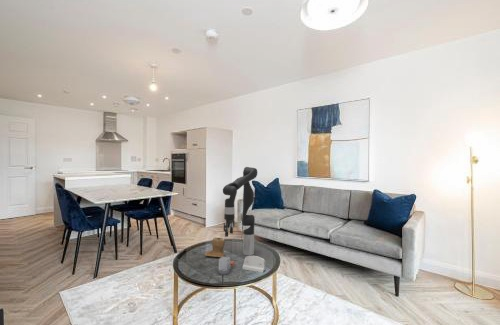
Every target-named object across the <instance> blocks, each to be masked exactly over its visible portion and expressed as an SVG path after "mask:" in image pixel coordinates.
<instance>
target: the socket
mask: <svg viewBox="0 0 500 325" xmlns="http://www.w3.org/2000/svg"><path fill="white" fill-rule="evenodd" d="M230 261H231V257H229V256H222V257H219V259H218V271H219V270H225V271H227V270H228V269H229V268H230Z"/></svg>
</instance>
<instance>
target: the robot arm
mask: <svg viewBox="0 0 500 325" xmlns="http://www.w3.org/2000/svg"><path fill="white" fill-rule="evenodd" d="M257 176H258V169H257V168H255V167H249V166H245V167H244V168H243V171H242V176H240V177H238V178H236V179H235V180H233V181H232V182H230V183H228V184H226V185H225V186H223V189H222V193H223V194H224V195H226V196H229V197H228V198H226V199H225V200H224V210H223V211H224V212H223V213H224V215H223V216H224V217H223V218H224V220H225V222H223V232H224V236H225V238H228V237H229V234H230V235H231V234H234V228H235V212H236V211H235V210H236V209H235V200H236V197H237V193H238V190H239V189H241V188H242V187H243V191H242V192H243V194H242V214H241V215H242V216H241V224H242V226H244V227H247V228H245V229H244V230H243V233H242V234H243V239H242V240H243V241H242V245H243V246H242V254H243V255H244V256H254V254H255V222H256V221H255V220H256V219H255V216H254V214H247V212H248V211H249V209H250V207H251V206H252V205H253V203H254V200H255V193H254V192H255V191H254V190H253V187H252V186H251V184H250V181H252V180H255V179H256V178H257ZM248 226H249V227H248Z"/></svg>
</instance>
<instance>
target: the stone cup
mask: <svg viewBox="0 0 500 325" xmlns="http://www.w3.org/2000/svg"><path fill="white" fill-rule="evenodd" d="M225 242H226V240H225V238H223V237H213V238H212V241H211V244H212V250H211V251H206V252H205V253H204V256H205V257H206V256H207V257H214V258H221V257H222V256H223V257H225V255H226V253H224V252H223V249H224V247H225Z"/></svg>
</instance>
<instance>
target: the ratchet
mask: <svg viewBox="0 0 500 325" xmlns="http://www.w3.org/2000/svg"><path fill="white" fill-rule="evenodd" d="M235 266H236V262H235V261H234V260H230V268H229V269H228V270H227V271H225V270H219V269H218V273H219V275H221V276H227V275H229V274H230V270H232V268H234V267H235Z"/></svg>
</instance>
